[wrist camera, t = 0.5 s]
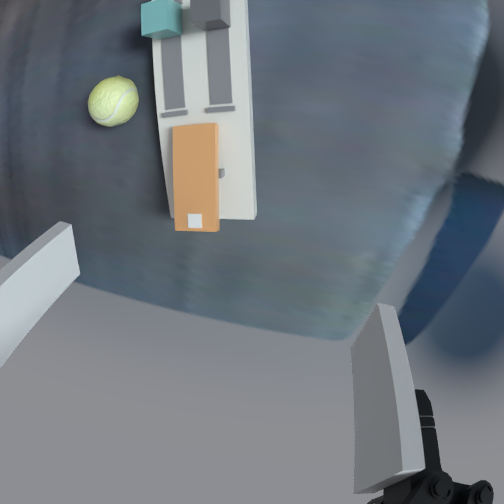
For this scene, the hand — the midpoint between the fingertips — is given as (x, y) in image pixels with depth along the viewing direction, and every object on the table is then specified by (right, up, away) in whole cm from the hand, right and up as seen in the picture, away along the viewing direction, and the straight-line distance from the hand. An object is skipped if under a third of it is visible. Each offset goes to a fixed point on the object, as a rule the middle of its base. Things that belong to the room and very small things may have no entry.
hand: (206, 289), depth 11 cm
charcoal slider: (-2, +27, +12) cm, 30 cm away
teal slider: (-7, +27, +13) cm, 31 cm away
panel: (-4, +20, +19) cm, 28 cm away
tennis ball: (-15, +22, +21) cm, 33 cm away
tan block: (-5, +10, +20) cm, 23 cm away
